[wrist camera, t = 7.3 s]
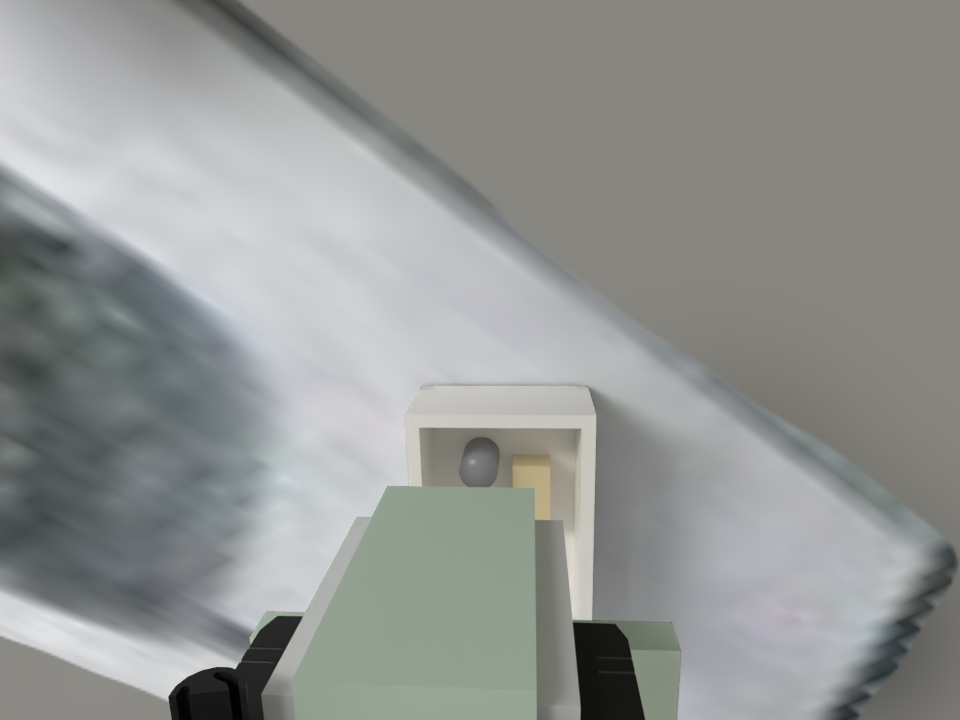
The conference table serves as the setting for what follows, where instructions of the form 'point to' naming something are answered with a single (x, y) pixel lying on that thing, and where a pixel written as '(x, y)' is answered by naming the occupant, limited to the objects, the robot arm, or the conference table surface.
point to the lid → (449, 618)
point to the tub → (515, 456)
